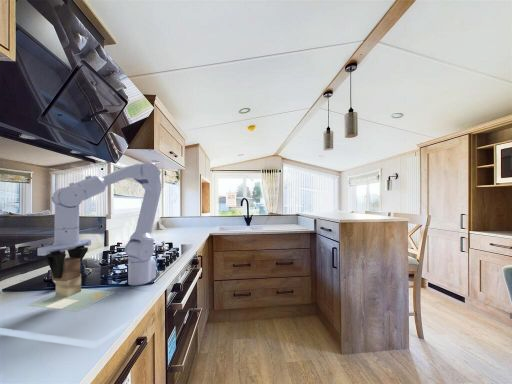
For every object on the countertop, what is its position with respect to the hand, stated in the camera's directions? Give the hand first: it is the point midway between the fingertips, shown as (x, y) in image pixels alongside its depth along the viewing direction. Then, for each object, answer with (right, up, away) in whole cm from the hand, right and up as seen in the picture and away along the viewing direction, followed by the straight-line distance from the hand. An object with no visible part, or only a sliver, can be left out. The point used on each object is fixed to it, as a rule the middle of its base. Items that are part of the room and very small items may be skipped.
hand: (66, 275), depth 72 cm
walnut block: (0, -1, 0) cm, 1 cm away
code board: (0, -9, +3) cm, 10 cm away
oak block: (-5, -8, +7) cm, 12 cm away
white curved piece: (-14, -10, +18) cm, 25 cm away
